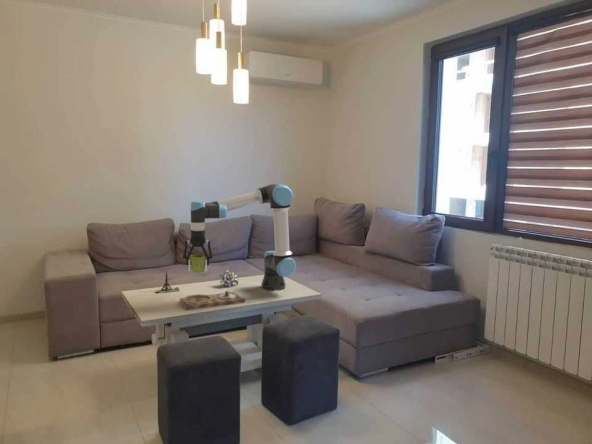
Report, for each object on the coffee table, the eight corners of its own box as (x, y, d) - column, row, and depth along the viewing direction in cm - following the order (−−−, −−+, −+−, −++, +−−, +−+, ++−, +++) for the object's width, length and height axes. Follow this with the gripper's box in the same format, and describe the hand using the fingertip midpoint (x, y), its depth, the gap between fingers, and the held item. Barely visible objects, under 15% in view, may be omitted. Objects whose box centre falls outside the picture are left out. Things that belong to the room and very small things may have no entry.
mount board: (234, 295, 269) (234, 286, 268) (244, 302, 255) (244, 293, 254) (179, 302, 253) (179, 293, 253) (187, 310, 240) (187, 300, 239)
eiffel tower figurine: (154, 294, 270) (154, 272, 268) (152, 290, 279) (152, 268, 277) (180, 292, 275) (180, 270, 274) (177, 287, 285) (177, 266, 283)
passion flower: (229, 295, 288) (220, 282, 281) (222, 288, 296) (213, 275, 290) (243, 284, 291) (234, 271, 284) (236, 277, 299) (228, 264, 293)
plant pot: (202, 273, 246) (202, 258, 245) (186, 272, 248) (186, 256, 247) (209, 270, 255) (209, 254, 254) (193, 269, 257) (193, 253, 256)
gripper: (218, 229, 253) (217, 269, 256) (179, 228, 251) (179, 269, 254) (217, 230, 246) (217, 272, 249) (176, 230, 244) (177, 272, 246)
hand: (198, 271), depth 251 cm, fingers closed on plant pot, 8 cm apart
